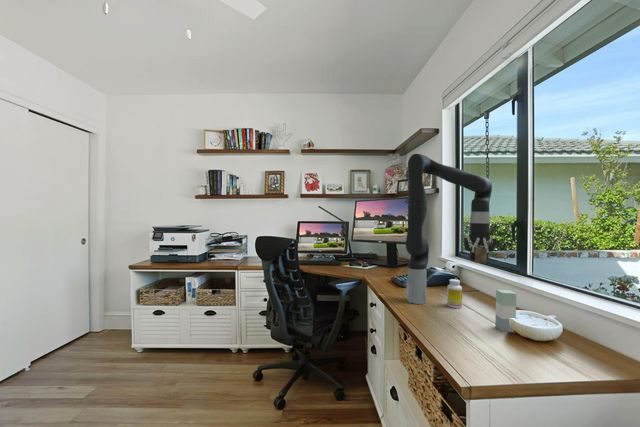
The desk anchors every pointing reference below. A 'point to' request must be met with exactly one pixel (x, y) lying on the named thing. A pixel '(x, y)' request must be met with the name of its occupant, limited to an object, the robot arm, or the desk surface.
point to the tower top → (506, 298)
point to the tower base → (503, 324)
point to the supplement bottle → (454, 294)
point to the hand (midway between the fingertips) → (478, 260)
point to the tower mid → (505, 311)
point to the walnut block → (480, 255)
